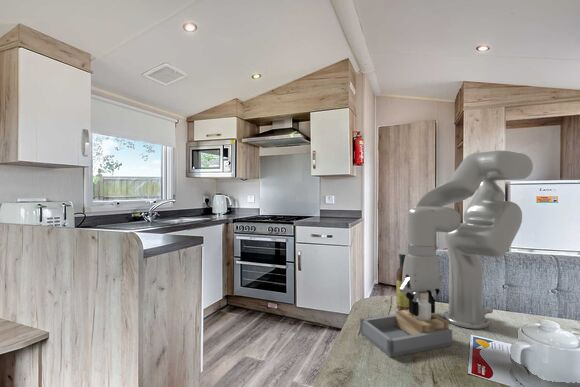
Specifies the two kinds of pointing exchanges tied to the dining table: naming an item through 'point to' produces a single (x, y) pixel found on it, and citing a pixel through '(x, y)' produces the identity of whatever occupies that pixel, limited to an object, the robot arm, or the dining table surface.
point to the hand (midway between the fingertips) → (421, 312)
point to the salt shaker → (423, 307)
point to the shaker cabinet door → (419, 323)
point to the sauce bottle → (401, 298)
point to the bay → (401, 337)
